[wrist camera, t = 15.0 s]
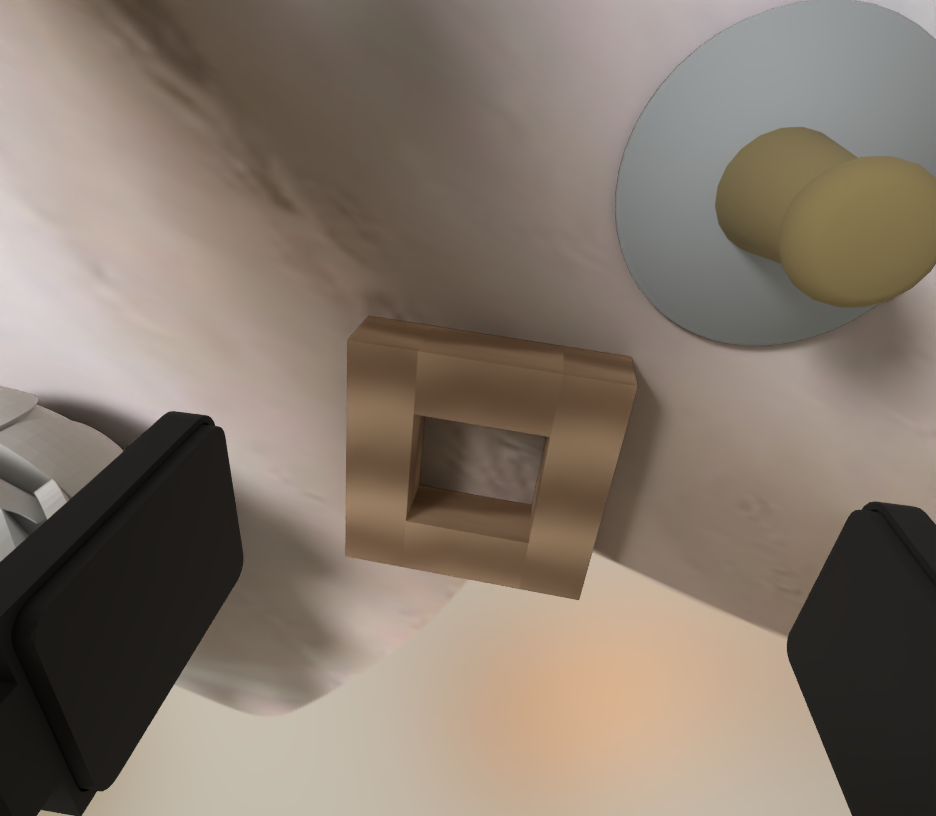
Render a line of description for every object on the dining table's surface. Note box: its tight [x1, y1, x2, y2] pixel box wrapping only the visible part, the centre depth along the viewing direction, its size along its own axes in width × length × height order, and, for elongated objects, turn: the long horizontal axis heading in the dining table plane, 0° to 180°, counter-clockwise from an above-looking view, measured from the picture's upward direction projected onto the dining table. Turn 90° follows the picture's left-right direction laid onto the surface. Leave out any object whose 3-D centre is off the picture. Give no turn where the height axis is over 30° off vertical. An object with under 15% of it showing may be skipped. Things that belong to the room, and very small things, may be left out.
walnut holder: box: [345, 316, 638, 600], centre depth 38 cm, size 16×16×4 cm
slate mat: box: [615, 0, 936, 346], centre depth 30 cm, size 16×16×1 cm
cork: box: [715, 127, 936, 308], centre depth 25 cm, size 6×6×11 cm
